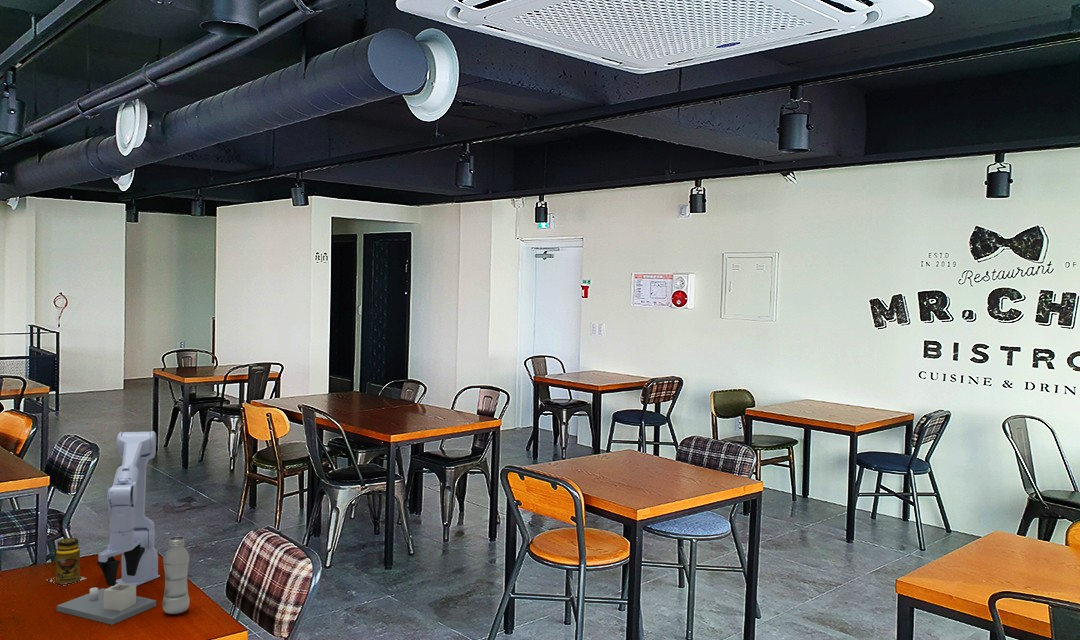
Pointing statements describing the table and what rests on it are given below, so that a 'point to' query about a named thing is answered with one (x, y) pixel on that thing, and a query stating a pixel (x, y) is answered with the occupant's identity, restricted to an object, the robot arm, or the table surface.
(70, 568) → the condiment
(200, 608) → the table surface
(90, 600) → the pin board
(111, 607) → the collar
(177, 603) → the plastic bottle
